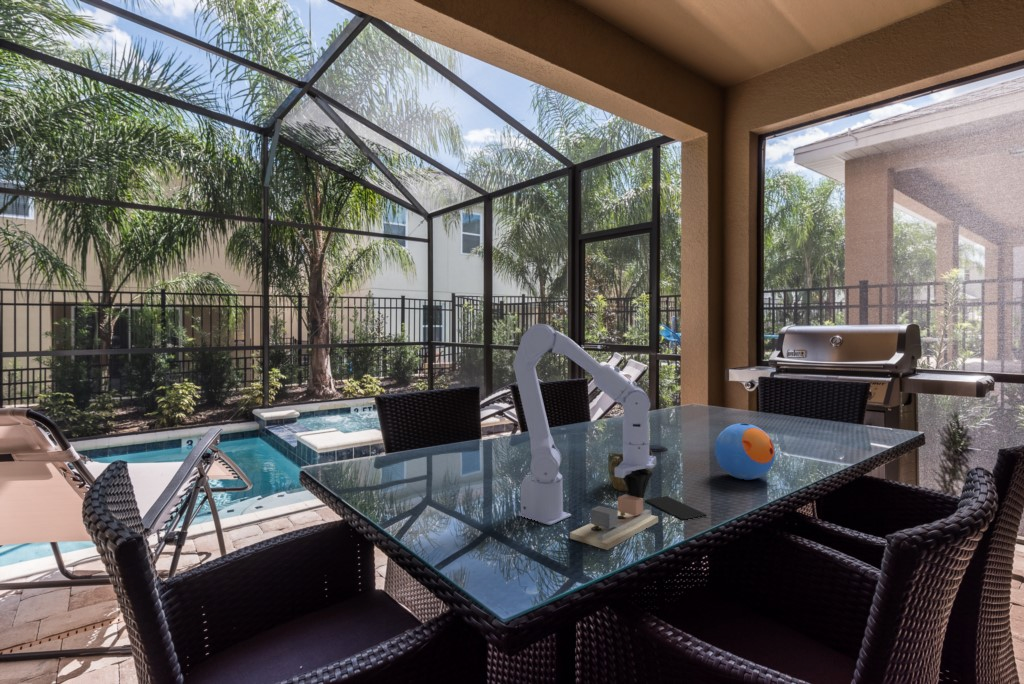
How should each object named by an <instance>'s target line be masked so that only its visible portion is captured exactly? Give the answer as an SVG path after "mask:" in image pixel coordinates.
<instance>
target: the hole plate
mask: <svg viewBox="0 0 1024 684" xmlns="http://www.w3.org/2000/svg"><path fill="white" fill-rule="evenodd" d="M632 516H634V515H631V514H627V513H625V516H621V515H620V511H618V523H620V522H622V521H624V520H626V519H628V518H630V517H632ZM658 523H659V516H657V515H652V514H651V516H650V517H648V518H646V519H644V520H642V521H640V522H639V523H637V524H635V525H633V526H631V527H629V528H627V529H625V530H623V531H621V532H620V533H618V534H616V535H614V536H612V537H610V538H608V539H606V540H604V541H600V540H598V538H597V534H598V533H600V532H602V531H604V530H606V529H608V528H604V527H601V526H599V528H598V529H595V528H594V524H591V522H590V523H588V524H586V525H583V526H581V527H579V528H577V529H574V530H572V531H569V539H570V540H574V541H577V542H579V543H580V542H581V543H583V544H584V543H585V544H587V545H590V546H592V547H593V546H594V547H597V548H599V549H603V550H606V551H608V550H610V549H612V548H614V547H616V546H617V545H620V544H621V543H622V542H625V541H626V540H628V539H630V538H632V537H633V536H634V537H635V536H636V535H637V533H638V534H639V533H641V532H643V531H644V530H647V529H649V528H650V527H652V526H654V525H656V524H658ZM646 528H647V529H646ZM635 534H636V535H635Z"/></svg>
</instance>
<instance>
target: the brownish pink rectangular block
mask: <svg viewBox="0 0 1024 684" xmlns="http://www.w3.org/2000/svg"><path fill="white" fill-rule="evenodd" d="M617 510H618V511H620V515H621V516H625V513H627V514H631V515H635V516H636V515H638V514H640V513H642V512H643V511H644V498H639V497H635V496H630V495H629V494H626V493H625V494H622V495H620V496H618V497H617Z"/></svg>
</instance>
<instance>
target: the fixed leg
mask: <svg viewBox="0 0 1024 684" xmlns="http://www.w3.org/2000/svg"><path fill="white" fill-rule="evenodd" d="M590 523H591V524H594V528H595V529H598V528H599V526H601V527H604V528H608V529H611V528H613V527H615V526H617V525H618V509H615V508H610V507H607V506H601V505H598V506H595V507H592V508H591V509H590Z"/></svg>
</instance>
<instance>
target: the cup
mask: <svg viewBox="0 0 1024 684" xmlns="http://www.w3.org/2000/svg"><path fill="white" fill-rule="evenodd" d="M649 456H654V455H653V452H652V450H651V449H650V448H649ZM607 458H608V459H607V466H608V467H607V469H608V470H607V471H608V476H609V480H610V482H611V485H612V486H613V489H615V490H617V491H621V492H625V491H628V489H627V486H626V484H625V481H624V480H623V478H619V477H615V467H617V466H619V464H620V463H621V462H622V461H623V452H620V453H616V452H609V453H608V457H607ZM646 470H650V471H652V472H653V468H650V469H649V468H646ZM647 485H649V482H648V483H647Z"/></svg>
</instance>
